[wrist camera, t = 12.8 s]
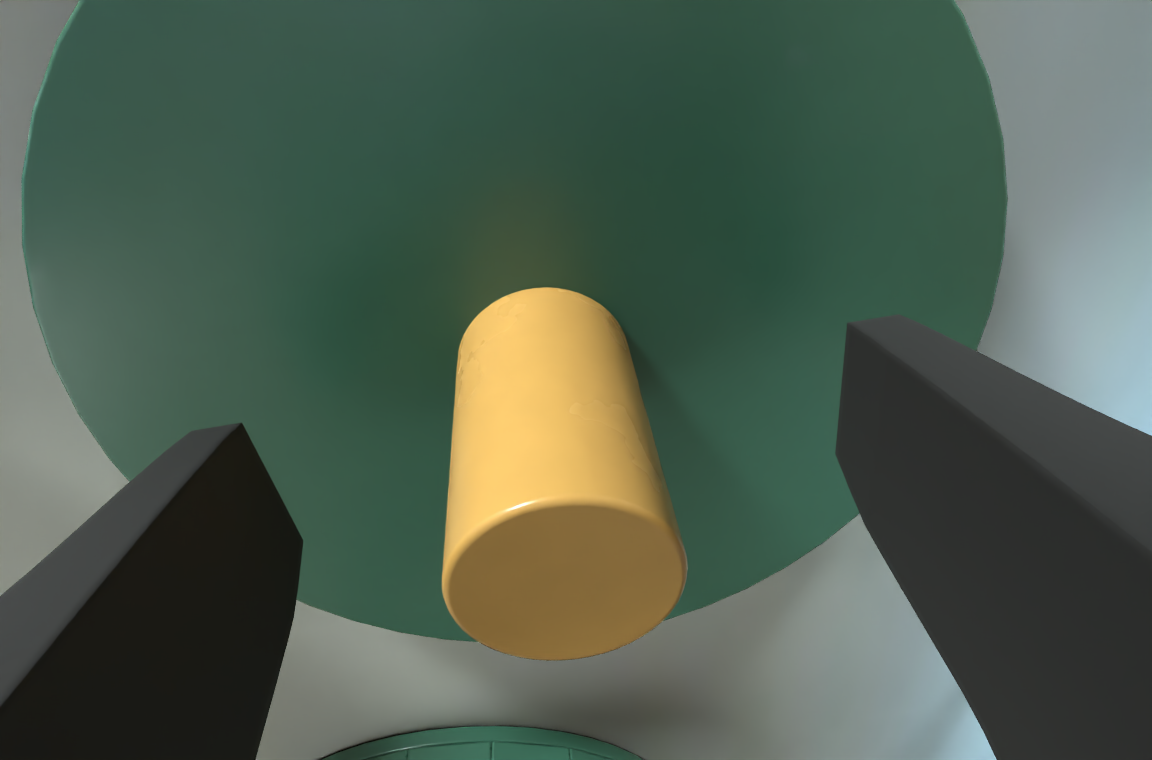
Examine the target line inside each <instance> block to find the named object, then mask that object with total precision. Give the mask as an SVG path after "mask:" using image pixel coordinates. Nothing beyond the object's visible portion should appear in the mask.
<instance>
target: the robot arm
mask: <svg viewBox="0 0 1152 760" xmlns="http://www.w3.org/2000/svg"><path fill="white" fill-rule="evenodd" d="M835 454H836V457H837V459H838V462H839V464H840V467H841V469H842V472H843V474H844V477H845V479H846V482H847V484H848V487H849V489H850V492H851V494H852V497H853V499H854V501H855V503H856V506H857V508H858V510H859V513H860V515H861V517H862V520H863V522H864V524H865V526H866V528H867V530H868V531H869V533H870V535H871V537H872V539H873V540H874V542H875V544H876V546H877V547H878V549H879V551H880V553H881V554H882V556H883V558H884V559H885V561H886V563H887V565H888V566H889V568H890V570H891V572H892V573H893V575H894V577H895V578H896V580H897V582H898V584H899V585H900V587H901V589H902V590H903V592H904V594H905V595H906V597H907V599H908V601H909V602H910V604H911V606H912V607H913V609H914V611H915V612H916V614H917V616H918V618H919V619H920V621H921V623H922V624H923V626H924V628H925V629H926V631H927V633H928V635H929V636H930V638H931V640H932V641H933V643H934V645H935V646H936V648H937V650H938V651H939V653H940V655H941V657H942V658H943V660H944V662H945V663H946V665H947V667H948V668H949V670H950V672H951V674H952V675H953V677H954V679H955V680H956V682H957V684H958V685H959V687H960V689H961V691H962V692H963V694H964V696H965V698H966V700H967V702H968V703H969V705H970V707H971V709H972V711H973V713H974V715H975V717H976V718H977V720H978V722H979V724H980V726H981V728H982V730H983V731H984V733H985V736H986V738H987V740H988V742H989V744H990V746H991V748H992V751H993V753H994V755H995V757H996V759H997V760H1152V436H1151V435H1148V434H1146V433H1144V432H1142V431H1139V430H1137V429H1135V428H1132V427H1130V426H1128V425H1126V424H1124V423H1121V422H1119V421H1117V420H1115V419H1113V418H1111V417H1109V416H1106V415H1104V414H1102V413H1100V412H1098V411H1096V410H1094V409H1091V408H1089V407H1087V406H1085V405H1083V404H1081V403H1079V402H1077V401H1075V400H1073V399H1071V398H1069V397H1066V396H1064V395H1062V394H1060V393H1058V392H1056V391H1054V390H1052V389H1050V388H1048V387H1046V386H1044V385H1042V384H1040V383H1038V382H1036V381H1034V380H1032V379H1030V378H1028V377H1026V376H1024V375H1022V374H1020V373H1018V372H1016V371H1014V370H1012V369H1010V368H1008V367H1006V366H1004V365H1002V364H1000V363H998V362H996V361H994V360H993V359H991V358H989V357H987V356H985V355H983V354H981V353H979V352H977V351H975V350H973V349H971V348H969V347H967V346H965V345H963V344H961V343H959V342H957V341H955V340H953V339H951V338H949V337H947V336H945V335H943V334H941V333H939V332H937V331H935V330H933V329H931V328H929V327H927V326H925V325H923V324H920V323H918V322H916V321H914V320H911V319H909V318H907V317H904V316H902V315H900V314H897V315H891V316H885V317H879V318H873V319H867V320H861V321H855V322H849V323H847V330H846V341H845V352H844V363H843V374H842V385H841V396H840V407H839V418H838V429H837V440H836V451H835ZM302 549H303V539H302V537H301V535H300V533H299V531H298V529H297V527H296V525H295V523H294V521H293V520H292V518H291V516H290V514H289V512H288V510H287V508H286V506H285V504H284V502H283V500H282V498H281V496H280V495H279V493H278V491H277V489H276V487H275V485H274V483H273V481H272V479H271V477H270V475H269V473H268V472H267V470H266V468H265V466H264V464H263V462H262V460H261V458H260V456H259V454H258V452H257V450H256V448H255V447H254V445H253V443H252V441H251V439H250V437H249V435H248V433H247V431H246V429H245V427H244V425H243V424H242V423H236V424H230V425H224V426H218V427H212V428H206V429H199V430H193V431H191V432H189V433H188V434H187V435H185V436H184V437H183V438H181V439H180V440H179V441H177V442H176V443H175V444H173V445H172V446H171V447H170V448H168V449H167V450H166V451H165V452H164V453H163V454H161V455H160V456H159V457H158V458H157V459H155V460H154V461H153V462H152V463H151V464H150V465H148V466H147V467H146V468H145V469H144V470H143V471H142V472H140V473H139V474H138V475H137V476H136V477H135V478H134V479H133V480H131V481H130V482H129V483H128V484H127V485H126V486H125V487H124V488H122V489H121V490H120V491H119V492H118V493H117V494H116V495H115V496H114V497H112V498H111V499H110V500H109V501H108V502H107V503H106V504H105V505H104V506H102V507H101V508H100V509H99V510H98V511H97V512H96V513H95V514H94V515H92V516H91V517H90V518H89V519H88V520H87V521H86V522H85V523H83V524H82V525H81V526H80V527H79V528H78V529H77V530H76V531H75V532H73V533H72V534H71V535H70V536H69V537H68V538H67V539H66V540H64V541H63V542H62V543H61V544H60V545H59V546H58V547H57V548H55V549H54V550H53V551H52V552H51V553H50V554H49V555H48V556H47V557H45V558H44V559H43V560H42V561H41V562H40V563H39V564H38V565H36V566H35V567H34V568H33V569H32V570H31V571H30V572H28V573H27V574H26V575H25V576H24V577H22V578H21V579H20V580H19V581H18V582H16V583H15V584H14V585H13V586H12V587H10V588H9V589H8V590H7V591H6V592H5V593H3V594H2V595H1V596H0V760H255V759H256V755H257V752H258V748H259V745H260V741H261V737H262V734H263V730H264V726H265V723H266V719H267V716H268V712H269V708H270V705H271V701H272V698H273V694H274V690H275V687H276V683H277V679H278V676H279V672H280V668H281V665H282V661H283V657H284V653H285V650H286V646H287V642H288V638H289V634H290V630H291V626H292V622H293V618H294V612H295V605H296V598H297V592H298V585H299V577H300V567H301V558H302Z"/></svg>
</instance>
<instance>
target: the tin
mask: <svg viewBox="0 0 1152 760" xmlns="http://www.w3.org/2000/svg"><path fill="white" fill-rule="evenodd" d="M322 760H643V759H641V758H640V757H638V756H637V755H635V754H632V753H630V752H628V751H626V750H623V749H621V748H619V747H617V746H614V745H611V744H608V743H605V742H602V741H599V740H596V739H592V738H589V737H585V736H580V735H575V734H571V733H566V732H561V731H553V730H546V729H538V728H529V727H509V726H474V727H456V728H445V729H435V730H427V731H421V732H415V733H409V734H403V735H397V736H393V737H389V738H385V739H381V740H377V741H373V742H369V743H365V744H362V745H359V746H356V747H353V748H350V749H347V750H344V751H341V752H338V753H336V754H333V755H331V756H329V757H327V758H324V759H322Z"/></svg>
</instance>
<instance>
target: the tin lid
mask: <svg viewBox="0 0 1152 760" xmlns="http://www.w3.org/2000/svg"><path fill="white" fill-rule="evenodd" d="M1007 200H1008V198H1007V184H1006V170H1005V157H1004V143H1003V136H1002V132H1001V128H1000V123H999V119H998V115H997V110H996V106H995V102H994V97H993V93H992V89H991V84H990V80H989V76H988V74H987V71H986V69H985V67H984V64H983V62H982V59H981V57H980V54H979V52H978V50H977V47H976V45H975V42H974V40H973V37H972V35H971V32H970V30H969V28H968V25H967V23H966V20H965V18H964V15H963V14H962V12H961V10H960V9H959V7H958V6H957V4H956V2H955V1H954V0H79V2H78V4H77V5H76V7H75V9H74V11H73V13H72V14H71V16H70V18H69V20H68V21H67V23H66V25H65V27H64V29H63V30H62V32H61V34H60V36H59V37H58V39H57V41H56V44H55V47H54V50H53V52H52V55H51V58H50V61H49V64H48V67H47V70H46V73H45V76H44V79H43V81H42V84H41V87H40V90H39V93H38V96H37V99H36V102H35V105H34V107H33V110H32V117H31V123H30V129H29V136H28V142H27V148H26V155H25V161H24V167H23V174H22V246H23V252H24V257H25V263H26V269H27V274H28V280H29V286H30V291H31V297H32V303H33V308H34V311H35V313H36V316H37V319H38V322H39V325H40V328H41V331H42V334H43V337H44V340H45V343H46V346H47V349H48V352H49V355H50V358H51V361H52V363H53V365H54V367H55V369H56V371H57V373H58V375H59V377H60V379H61V381H62V383H63V385H64V387H65V389H66V391H67V393H68V395H69V397H70V399H71V401H72V403H73V405H74V407H75V409H76V410H77V412H78V414H79V416H80V417H81V419H82V420H83V421H84V423H85V424H86V426H87V427H88V429H89V430H90V432H91V433H92V435H93V436H94V437H95V439H96V440H97V442H98V443H99V445H100V446H101V448H102V449H103V450H104V452H105V453H106V455H107V456H108V458H109V459H110V460H111V461H112V463H113V464H114V465H115V466H116V467H117V468H118V469H119V470H120V471H121V473H122V474H123V475H124V476H125V477H126V478H127V479H128V480H129V482H130V481H131V480H133V479H134V478H135V477H136V476H137V475H138V474H139V473H140V472H142V471H143V470H144V469H145V468H146V467H147V466H148V465H150V464H151V463H152V462H153V461H154V460H155V459H157V458H158V457H159V456H160V455H161V454H163V453H164V452H165V451H166V450H167V449H168V448H170V447H171V446H172V445H173V444H175V443H176V442H177V441H179V440H180V439H181V438H183V437H184V436H185V435H187V434H188V433H189V432H191V431H193V430H199V429H206V428H212V427H218V426H224V425H230V424H236V423H242V424H243V425H244V427H245V429H246V431H247V433H248V435H249V437H250V439H251V441H252V443H253V445H254V447H255V448H256V450H257V452H258V454H259V456H260V458H261V460H262V462H263V464H264V466H265V468H266V470H267V472H268V473H269V475H270V477H271V479H272V481H273V483H274V485H275V487H276V489H277V491H278V493H279V495H280V496H281V498H282V500H283V502H284V504H285V506H286V508H287V510H288V512H289V514H290V516H291V518H292V520H293V521H294V523H295V525H296V527H297V529H298V531H299V533H300V535H301V537H302V539H303V549H302V558H301V567H300V577H299V585H298V592H297V598H296V600H298V601H300V602H303V603H305V604H307V605H309V606H312V607H315V608H318V609H321V610H324V611H327V612H329V613H332V614H335V615H338V616H341V617H344V618H347V619H350V620H353V621H356V622H360V623H364V624H368V625H372V626H376V627H380V628H384V629H388V630H392V631H397V632H401V633H407V634H414V635H420V636H426V637H433V638H439V639H446V640H459V641H472V642H479V643H481V644H483V645H485V646H487V647H489V648H491V649H493V650H496V651H499V652H502V653H504V654H508V655H512V656H516V657H520V658H527V659H533V660H547V661H549V660H572V659H580V658H586V657H591V656H595V655H599V654H603V653H606V652H609V651H612V650H615V649H618V648H620V647H623V646H625V645H627V644H630V643H632V642H633V641H635V640H637V639H639V638H641V637H643V636H644V635H645V634H647V633H648V632H650V631H651V630H653V629H654V628H655V627H656V626H658V625H659V624H660V623H661V622H662V621H665V620H667V619H670V618H673V617H676V616H679V615H682V614H685V613H688V612H691V611H694V610H697V609H700V608H703V607H706V606H708V605H710V604H713V603H715V602H717V601H719V600H722V599H724V598H726V597H729V596H731V595H733V594H736V593H738V592H740V591H742V590H745V589H747V588H749V587H751V586H752V585H754V584H756V583H758V582H760V581H762V580H764V579H765V578H767V577H769V576H771V575H773V574H775V573H776V572H778V571H780V570H782V569H784V568H786V567H787V566H789V565H790V564H792V563H793V562H795V561H796V560H798V559H799V558H801V557H802V556H804V555H805V554H807V553H808V552H810V551H811V550H813V549H814V548H816V547H817V546H819V545H820V544H822V543H823V542H825V541H826V540H827V539H829V538H830V537H831V536H832V535H833V534H835V533H836V532H837V531H838V530H840V529H841V528H842V527H843V526H845V525H846V524H847V523H848V522H850V521H851V520H852V519H853V518H855V517H856V516H857V515H858V514H860V513H859V510H858V508H857V506H856V503H855V501H854V499H853V497H852V494H851V492H850V489H849V487H848V484H847V482H846V479H845V477H844V474H843V472H842V469H841V467H840V464H839V462H838V459H837V457H836V454H835V451H836V440H837V429H838V418H839V407H840V396H841V385H842V374H843V363H844V352H845V341H846V330H847V323H849V322H855V321H861V320H867V319H873V318H879V317H885V316H891V315H897V314H900V315H902V316H904V317H907V318H909V319H911V320H914V321H916V322H918V323H920V324H923V325H925V326H927V327H929V328H931V329H933V330H935V331H937V332H939V333H941V334H943V335H945V336H947V337H949V338H951V339H953V340H955V341H957V342H959V343H961V344H963V345H965V346H967V347H969V348H971V349H973V350H975V351H977V348H978V345H979V342H980V339H981V337H982V334H983V331H984V328H985V326H986V323H987V320H988V317H989V315H990V312H991V309H992V305H993V300H994V296H995V291H996V286H997V282H998V277H999V273H1000V268H1001V264H1002V259H1003V253H1004V239H1005V226H1006V213H1007Z"/></svg>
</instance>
